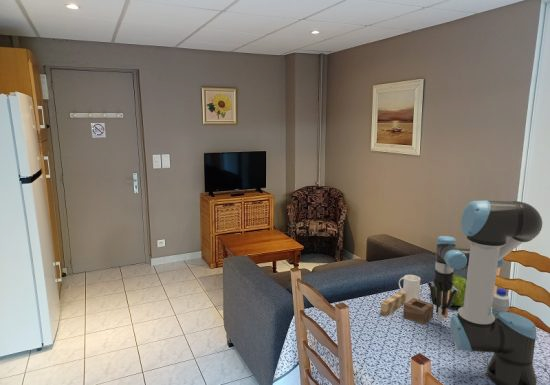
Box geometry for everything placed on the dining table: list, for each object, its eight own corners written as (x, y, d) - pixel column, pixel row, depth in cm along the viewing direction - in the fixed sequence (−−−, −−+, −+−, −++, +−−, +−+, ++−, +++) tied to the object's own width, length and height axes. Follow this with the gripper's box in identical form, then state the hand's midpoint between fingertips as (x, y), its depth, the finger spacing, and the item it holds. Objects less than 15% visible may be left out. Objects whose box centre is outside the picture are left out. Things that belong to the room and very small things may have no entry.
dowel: (445, 318, 184) (448, 290, 182) (438, 315, 187) (440, 287, 185) (448, 315, 187) (450, 287, 185) (441, 313, 189) (443, 285, 187)
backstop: (386, 316, 186) (386, 304, 185) (380, 314, 188) (381, 302, 187) (405, 303, 200) (406, 292, 199) (400, 301, 202) (400, 290, 201)
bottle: (508, 337, 168) (513, 292, 165) (491, 335, 169) (496, 291, 166) (503, 329, 174) (507, 286, 171) (486, 327, 176) (490, 285, 172)
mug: (393, 296, 209) (394, 274, 207) (404, 292, 213) (405, 271, 212) (412, 304, 199) (413, 281, 197) (422, 300, 204) (424, 278, 202)
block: (423, 324, 178) (424, 311, 177) (403, 317, 185) (403, 304, 184) (432, 317, 185) (433, 304, 184) (412, 310, 192) (413, 297, 191)
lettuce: (448, 297, 214) (440, 270, 215) (482, 300, 195) (473, 270, 196) (427, 307, 207) (419, 279, 208) (460, 311, 188) (451, 280, 189)
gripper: (462, 272, 172) (458, 322, 176) (433, 265, 181) (429, 313, 185) (456, 277, 167) (451, 328, 171) (426, 269, 176) (422, 318, 180)
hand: (440, 320), depth 178 cm, fingers closed
